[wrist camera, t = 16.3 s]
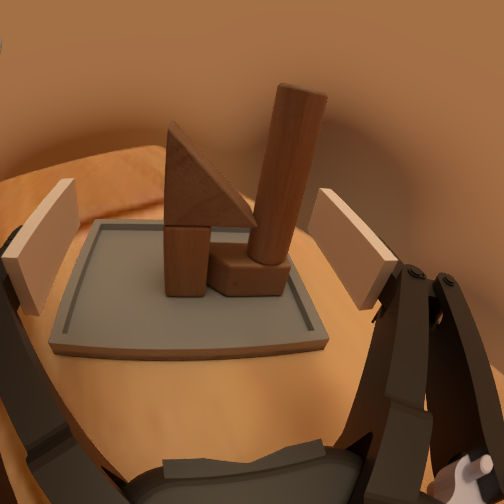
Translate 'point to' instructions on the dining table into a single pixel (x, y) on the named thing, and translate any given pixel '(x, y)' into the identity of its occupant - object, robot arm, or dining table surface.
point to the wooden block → (239, 205)
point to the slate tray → (171, 305)
